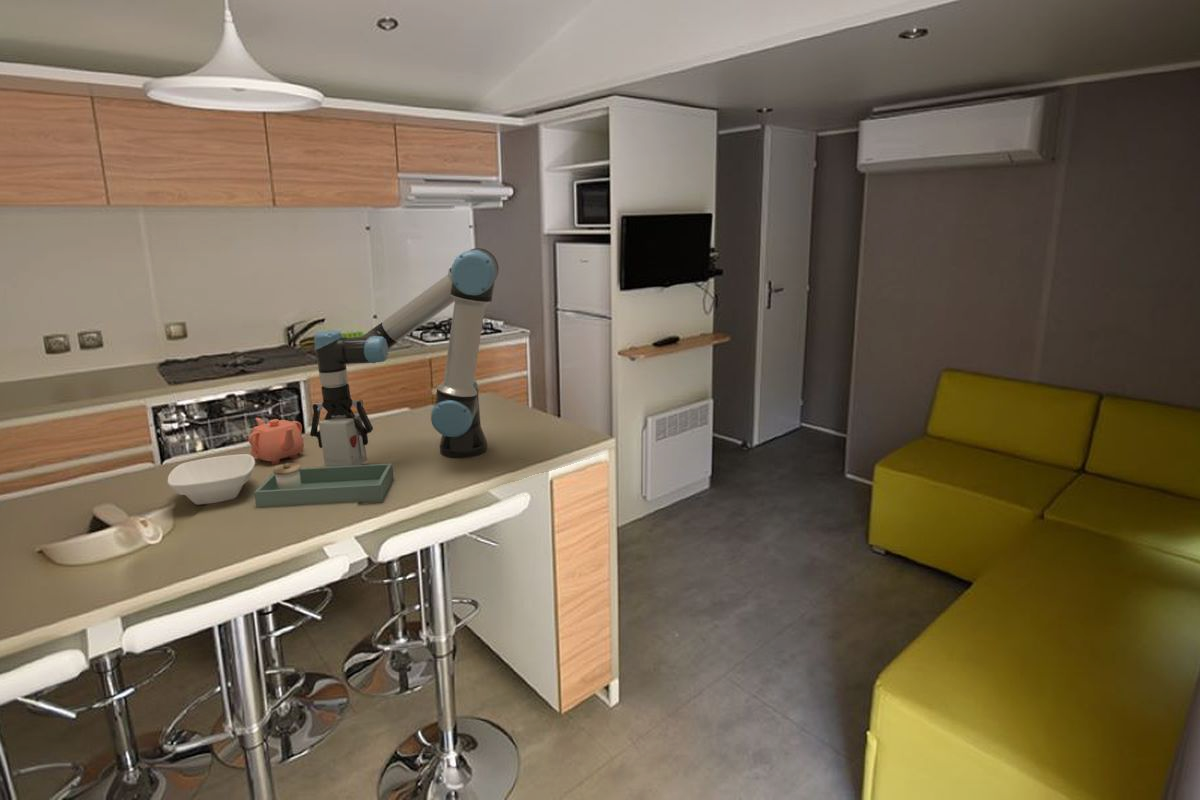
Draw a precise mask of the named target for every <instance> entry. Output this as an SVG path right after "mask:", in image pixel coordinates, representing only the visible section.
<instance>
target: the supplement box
mask: <svg viewBox="0 0 1200 800" xmlns="http://www.w3.org/2000/svg"><path fill="white" fill-rule="evenodd" d="M354 415H355V417H354V418H355V419H357V420H359V421H360V422H361V423H362V424H363V422H362V420H361V417H360V415H359V413H354ZM318 428H319V430H320V435H321V442H322V448H321V449H322V455H323V461H324V467H334V466H353V465H364V463H365V462H367V461H368V456H367V454H366V455H365V456H364V457H362V455H361V448H360V441H359V435H360V434H361V433H360V432H359V431H358V430H357V428H356V427H355V423H354V419H353V418H347V417H346V416H345V415H344V416H340V415H338V416H332V417H331V418H330V419H329V420H324V419H322V420H319V423H318Z"/></svg>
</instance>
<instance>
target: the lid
mask: <svg viewBox="0 0 1200 800" xmlns="http://www.w3.org/2000/svg"><path fill="white" fill-rule="evenodd" d="M301 468H302V467H301V464H300V463H296V462H294V463H293V462H290V463H289V462H287V463H283V464H280V465H277V466H275V467H274V468H273V469H272V473H274V474H278V475H284V474H290V473H294V472H296V471H298V470H300V469H301Z"/></svg>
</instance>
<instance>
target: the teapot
mask: <svg viewBox="0 0 1200 800" xmlns="http://www.w3.org/2000/svg"><path fill="white" fill-rule="evenodd" d="M254 419H255V421H256V422H257V424H258V425H257V426H256V425H255V426H254V427H252V430H251V431H252V432H250V434H249V435H248V437H247V438H248V441H247V442H248V443H249V444H250V446H251V452H250V455H251V456H253V458H254V457H256V458H258V459H260V460H261V461H265V462H266V461H267V462H270V464H271V465H278V464H280V463H281V461H280V460H282V459H285V458H288V457H289V459H297V458H299V457H300V456H299V455H298V454H299V453H302V452H303V451H304V449H305V447H304V446H305V444H304V437H303V436H302V430H303V426H302V425H303V424H301V422H300V421H298V420H293V421H290V420H285V419H280V420H279V419H278V418H275V419H274V418H273V419H269V420H268V422H267V423H265V422H264V420H263V419H262V418H260V417H256V418H254Z"/></svg>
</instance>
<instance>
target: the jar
mask: <svg viewBox="0 0 1200 800" xmlns="http://www.w3.org/2000/svg"><path fill="white" fill-rule="evenodd" d="M275 476H276V483H277V489H296V488H302V484H301V478H300V471H299V470H298V471H296V472H294V473H290V474H284V475H278V474H275Z"/></svg>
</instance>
